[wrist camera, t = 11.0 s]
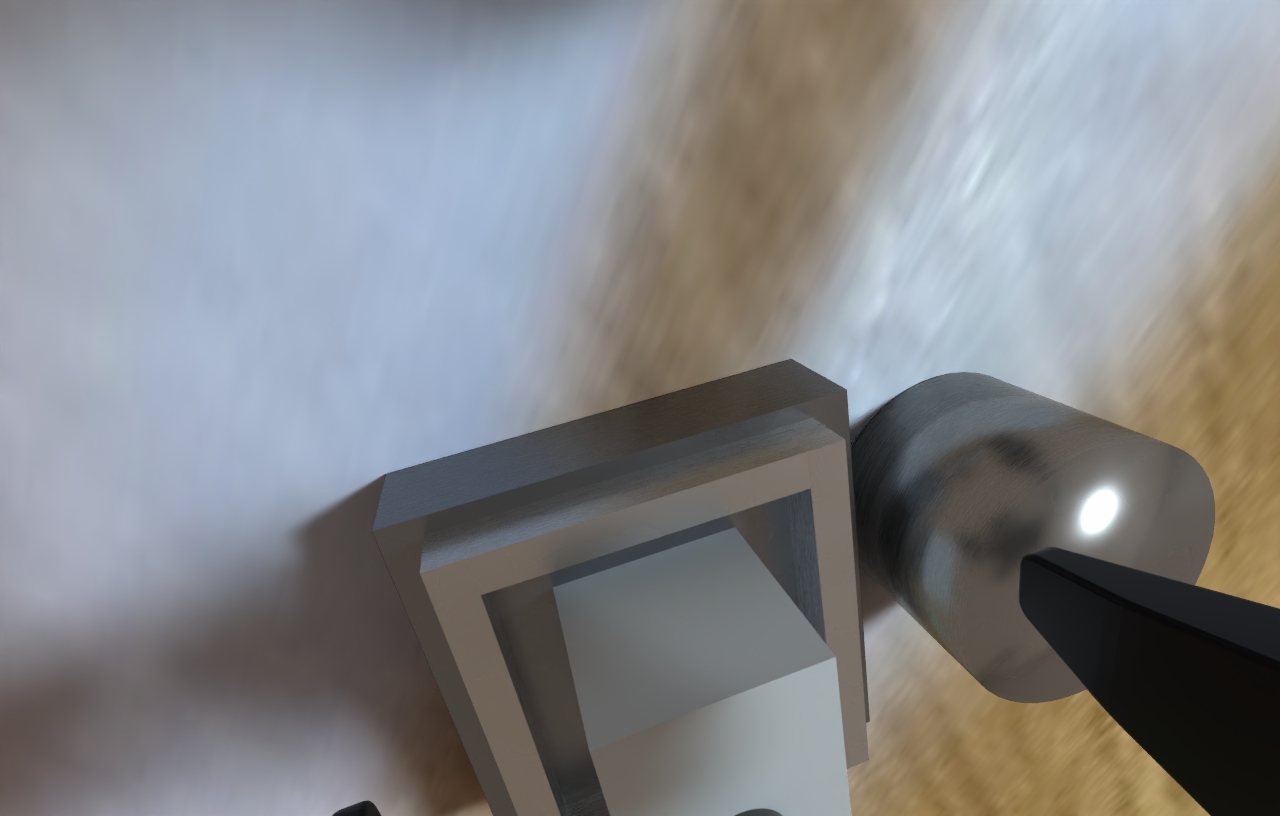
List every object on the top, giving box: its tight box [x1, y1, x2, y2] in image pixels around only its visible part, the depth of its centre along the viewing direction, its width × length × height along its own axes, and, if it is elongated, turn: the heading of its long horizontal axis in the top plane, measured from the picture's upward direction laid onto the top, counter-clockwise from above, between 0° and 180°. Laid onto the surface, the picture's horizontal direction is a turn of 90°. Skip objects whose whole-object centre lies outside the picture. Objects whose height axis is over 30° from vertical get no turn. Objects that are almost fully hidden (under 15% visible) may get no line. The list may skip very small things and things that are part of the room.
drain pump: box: [553, 527, 851, 816], centre depth 15 cm, size 5×6×6 cm
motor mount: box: [372, 359, 1215, 816], centre depth 18 cm, size 21×12×6 cm, turn 101°
